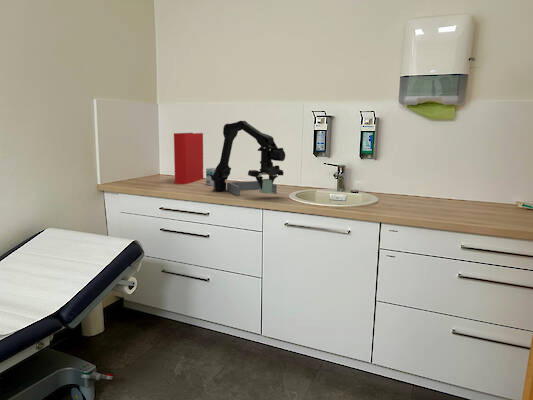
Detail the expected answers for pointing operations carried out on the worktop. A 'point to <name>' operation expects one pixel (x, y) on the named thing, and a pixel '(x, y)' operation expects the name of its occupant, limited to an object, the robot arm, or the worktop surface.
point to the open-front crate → (245, 186)
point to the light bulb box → (208, 176)
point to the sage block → (266, 186)
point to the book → (188, 157)
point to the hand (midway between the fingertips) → (265, 188)
